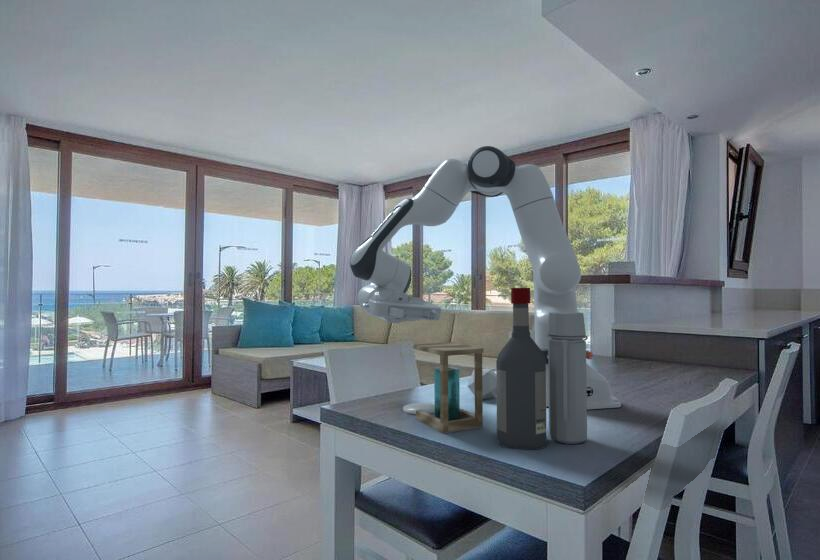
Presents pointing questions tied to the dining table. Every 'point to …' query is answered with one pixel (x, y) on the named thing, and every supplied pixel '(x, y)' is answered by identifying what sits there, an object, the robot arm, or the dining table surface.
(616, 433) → the dining table surface
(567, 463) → the dining table surface
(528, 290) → the liquor
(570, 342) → the water bottle
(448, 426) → the rack
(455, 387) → the can
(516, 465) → the dining table surface
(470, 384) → the die
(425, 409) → the coaster
